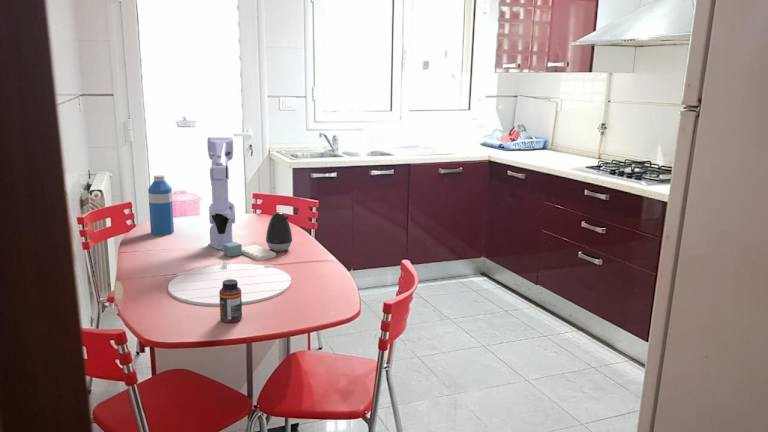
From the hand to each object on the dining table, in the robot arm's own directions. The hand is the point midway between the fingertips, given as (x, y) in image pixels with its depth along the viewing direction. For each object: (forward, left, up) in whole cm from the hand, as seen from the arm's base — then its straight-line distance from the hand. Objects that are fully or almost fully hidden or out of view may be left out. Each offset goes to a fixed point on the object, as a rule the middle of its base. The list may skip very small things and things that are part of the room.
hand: (221, 233), depth 224 cm
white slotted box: (+4, +13, -9) cm, 16 cm away
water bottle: (-49, -2, -10) cm, 50 cm away
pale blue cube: (-1, +5, -9) cm, 11 cm away
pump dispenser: (+4, +23, -10) cm, 25 cm away
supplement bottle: (+55, -27, -10) cm, 62 cm away
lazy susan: (+28, -12, -10) cm, 32 cm away
